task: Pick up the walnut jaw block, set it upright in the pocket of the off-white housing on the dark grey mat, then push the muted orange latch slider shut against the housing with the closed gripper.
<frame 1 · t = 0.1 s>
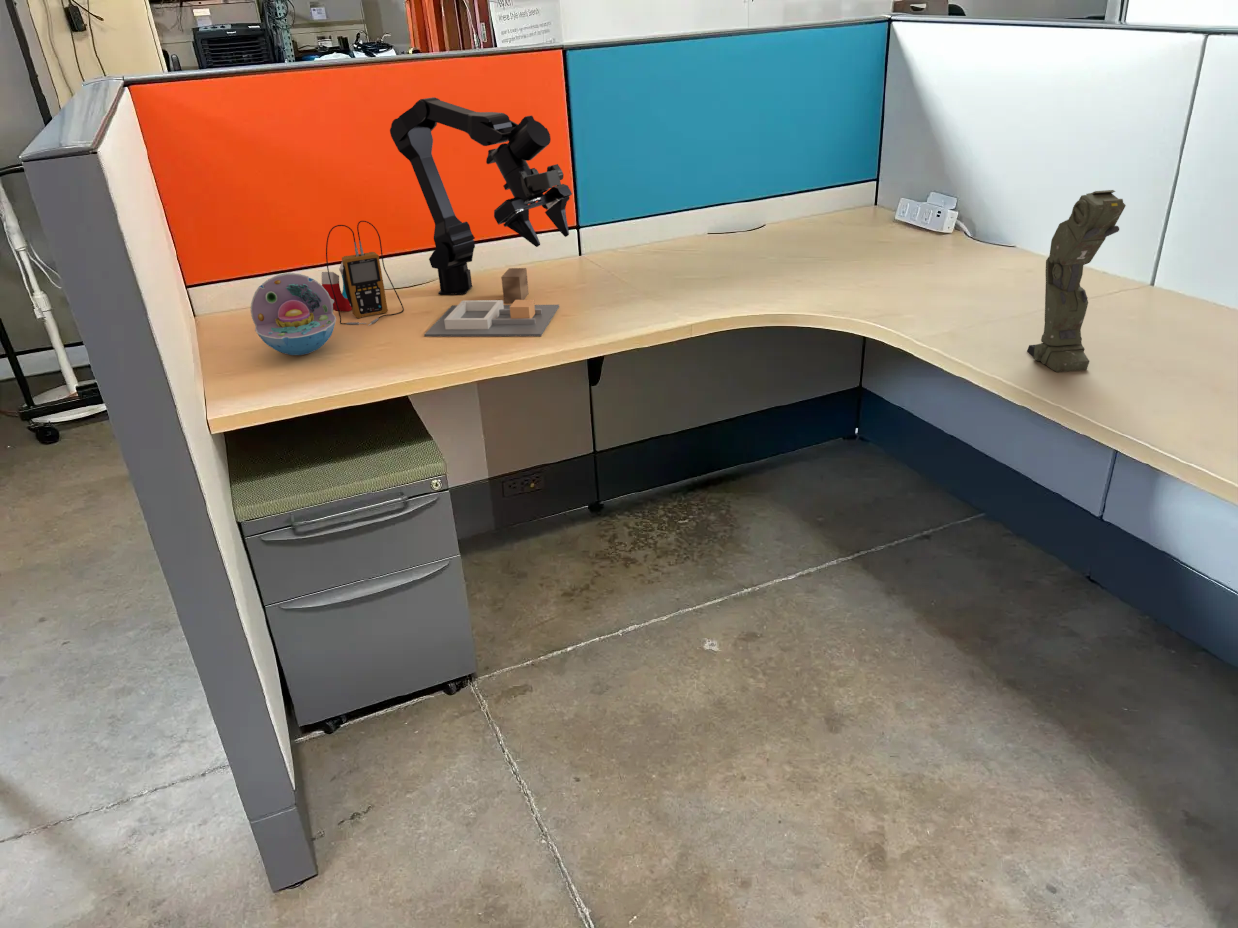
hand: (553, 240, 184), 15 cm above the table, tool tilted 30°, fingers open, 9 cm apart
educational model: (303, 352, 175), on the table
mechanical leg: (1058, 363, 152), on the table
multimeter: (375, 319, 192), on the table
housing: (475, 321, 187), on the table
latch slider: (522, 310, 184), point 2 cm above the table, slide at 3.5 cm
jaw block: (516, 298, 200), on the table
magnet: (346, 311, 198), on the table
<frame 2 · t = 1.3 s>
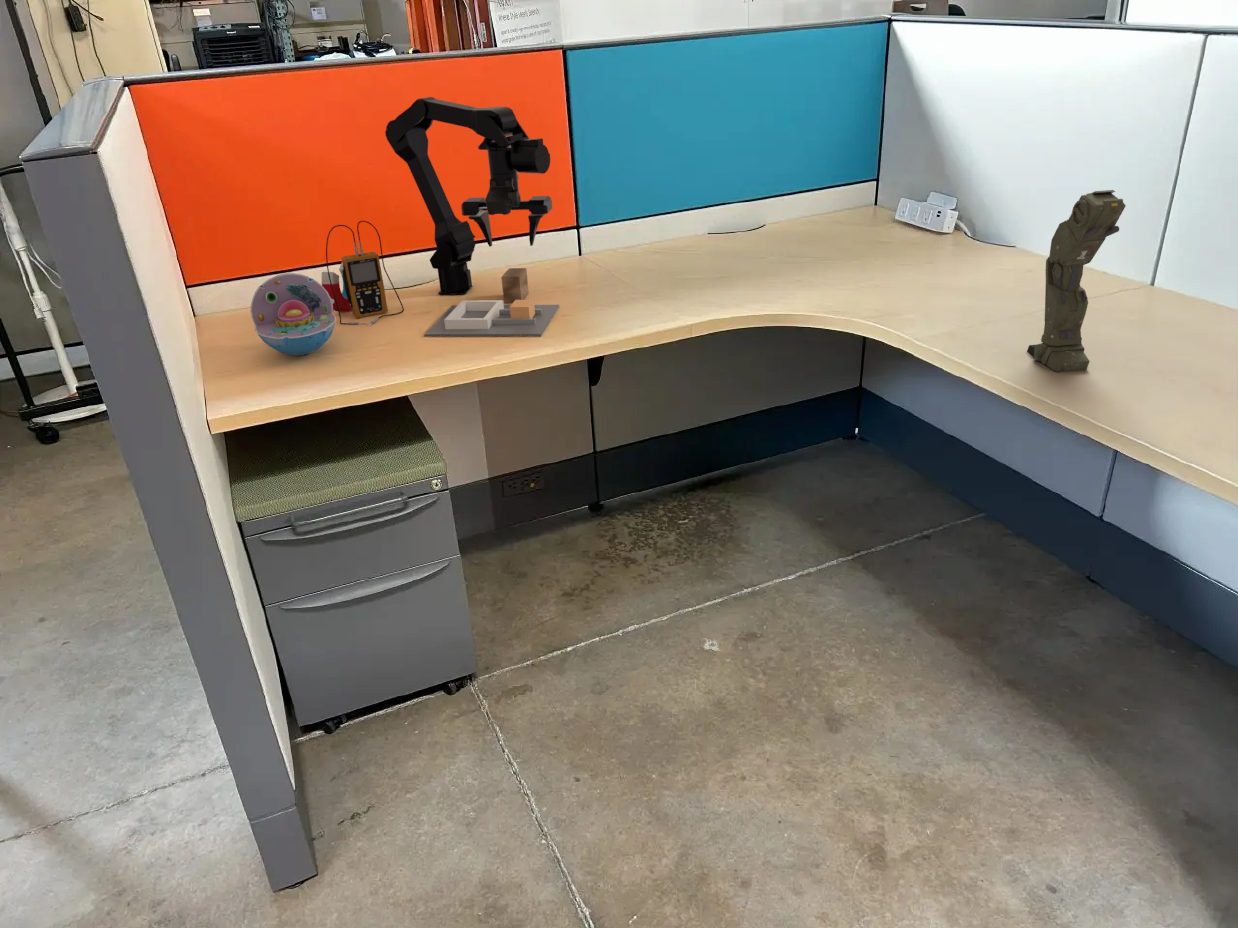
hand: (511, 246, 195), 12 cm above the table, tool pointing down, fingers open, 9 cm apart
nothing on the table moved.
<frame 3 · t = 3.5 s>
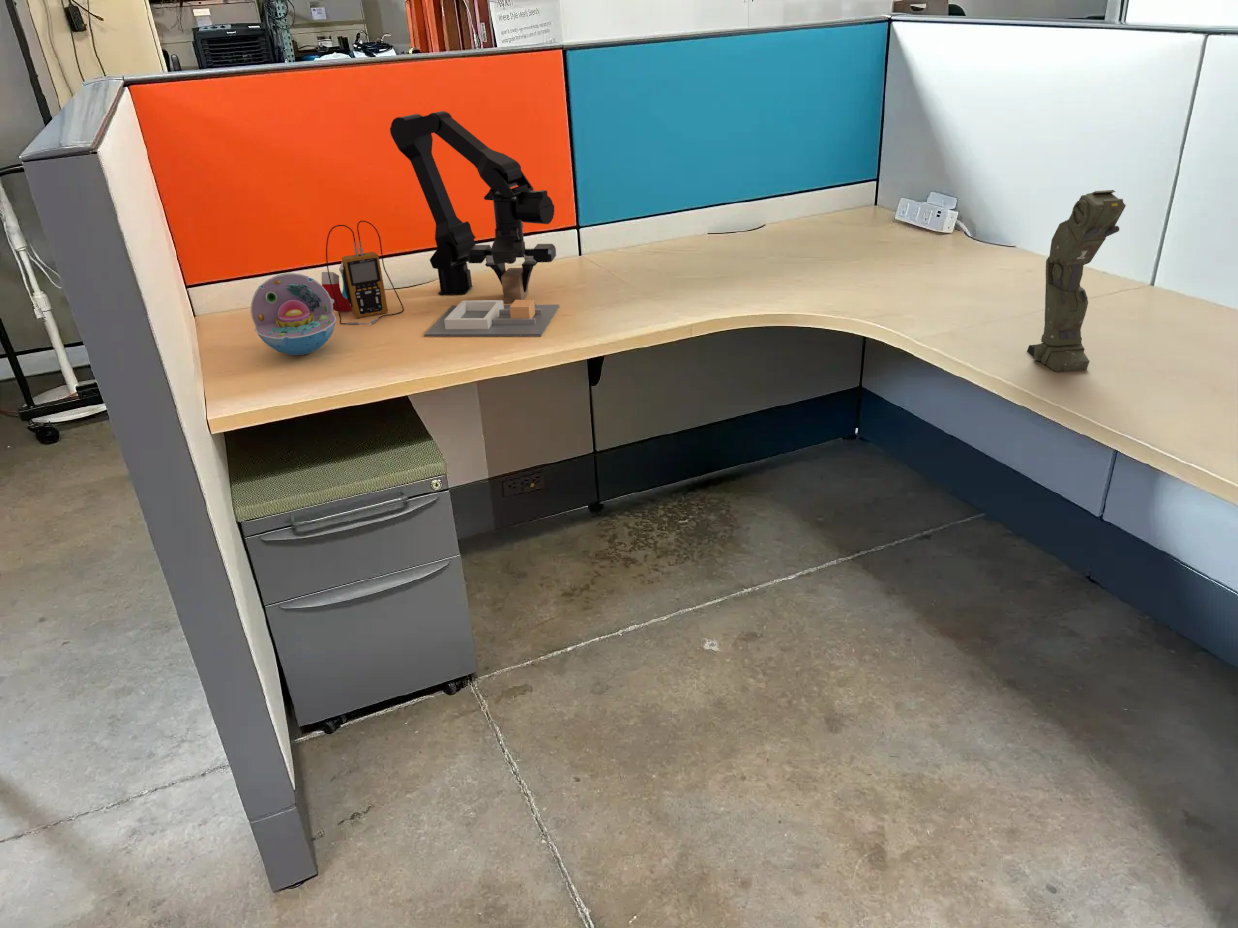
hand: (515, 291, 200), 2 cm above the table, tool pointing down, fingers closed on jaw block, 4 cm apart
jaw block: (516, 298, 200), on the table, touching gripper
everything else where it was.
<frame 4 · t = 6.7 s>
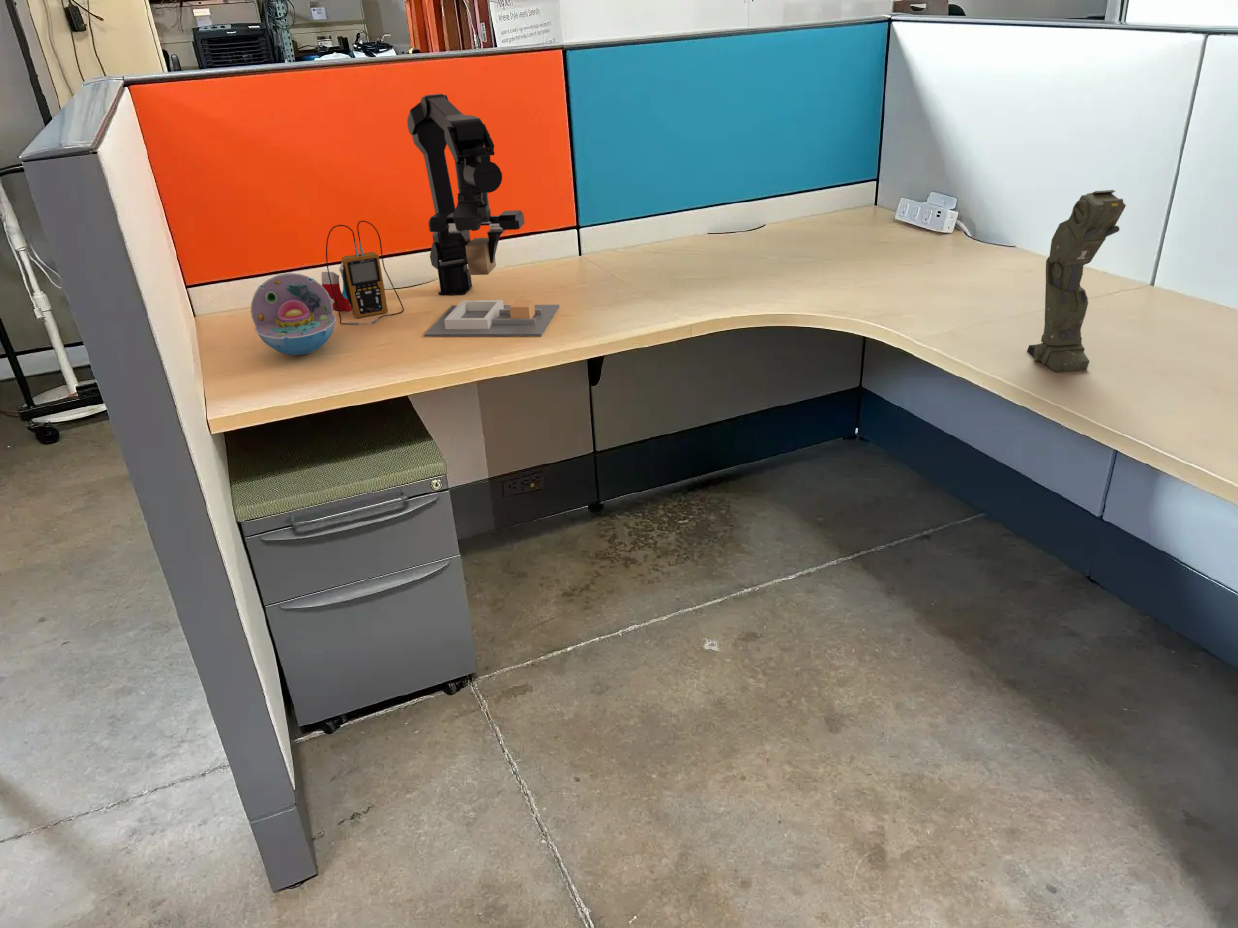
hand: (481, 263, 185), 11 cm above the table, tool pointing down, fingers closed on jaw block, 4 cm apart
jaw block: (482, 270, 186), point 10 cm above the table, touching gripper
everything else where it was.
when the fingers open (3 cm above the table, at t = 9.8 s): jaw block stays where it is, resting on housing.
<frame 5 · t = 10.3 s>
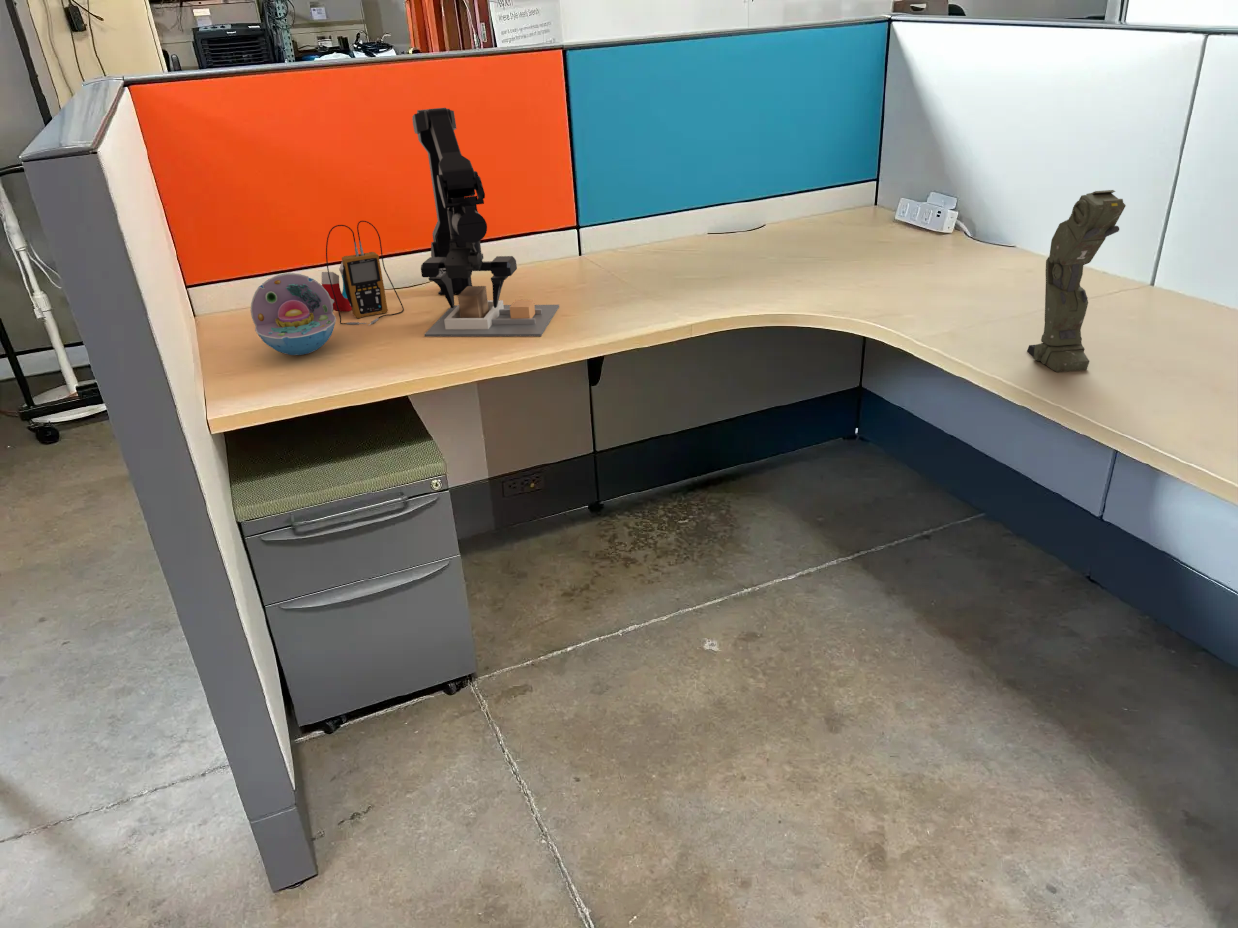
hand: (474, 307, 186), 3 cm above the table, tool pointing down, fingers open, 9 cm apart
jaw block: (475, 318, 187), resting on housing
everything else where it was.
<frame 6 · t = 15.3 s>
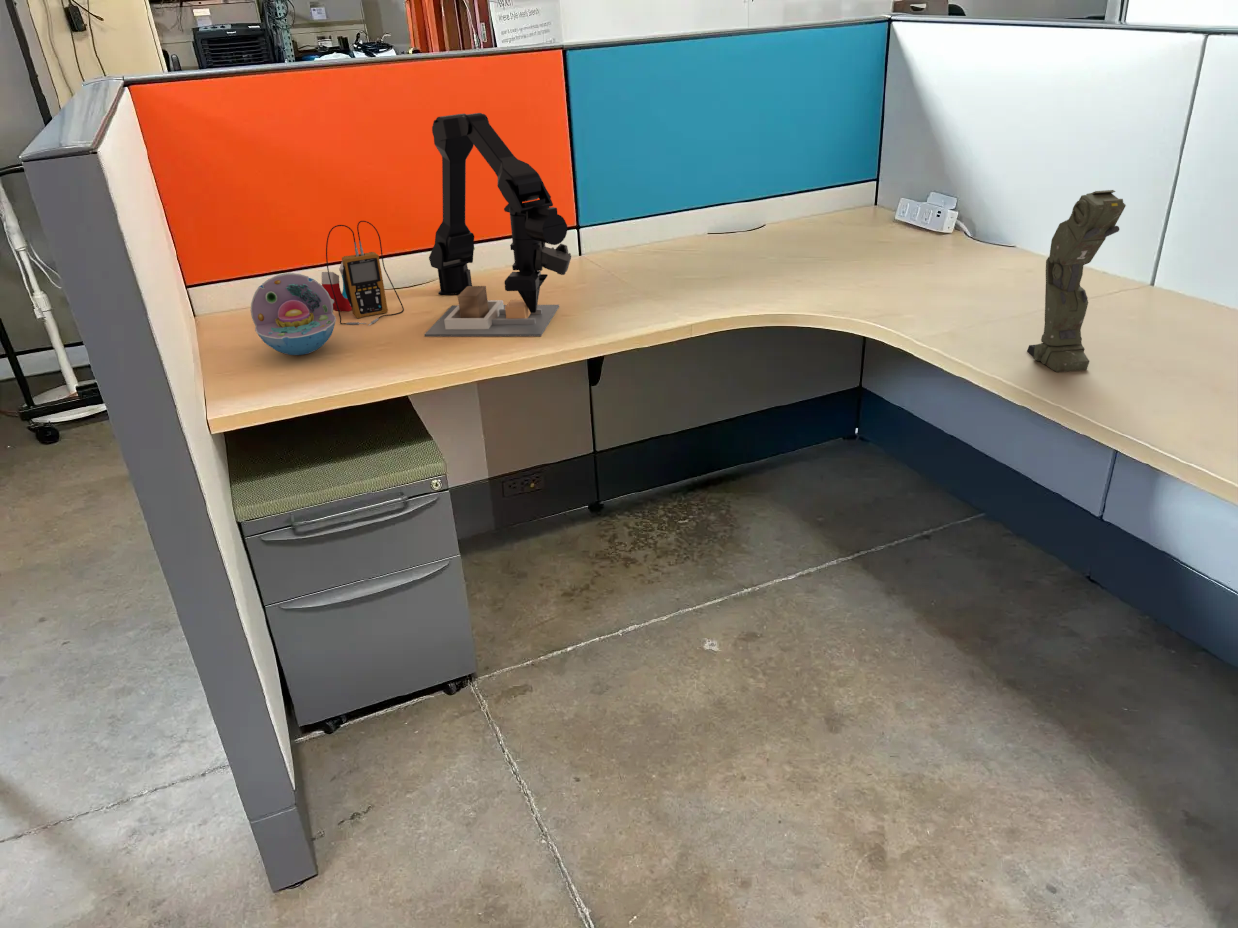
hand: (533, 312, 184), 2 cm above the table, tool pointing down, fingers closed, pressing on latch slider
latch slider: (518, 310, 185), point 2 cm above the table, slide at 2.5 cm, touching gripper
everything else where it was.
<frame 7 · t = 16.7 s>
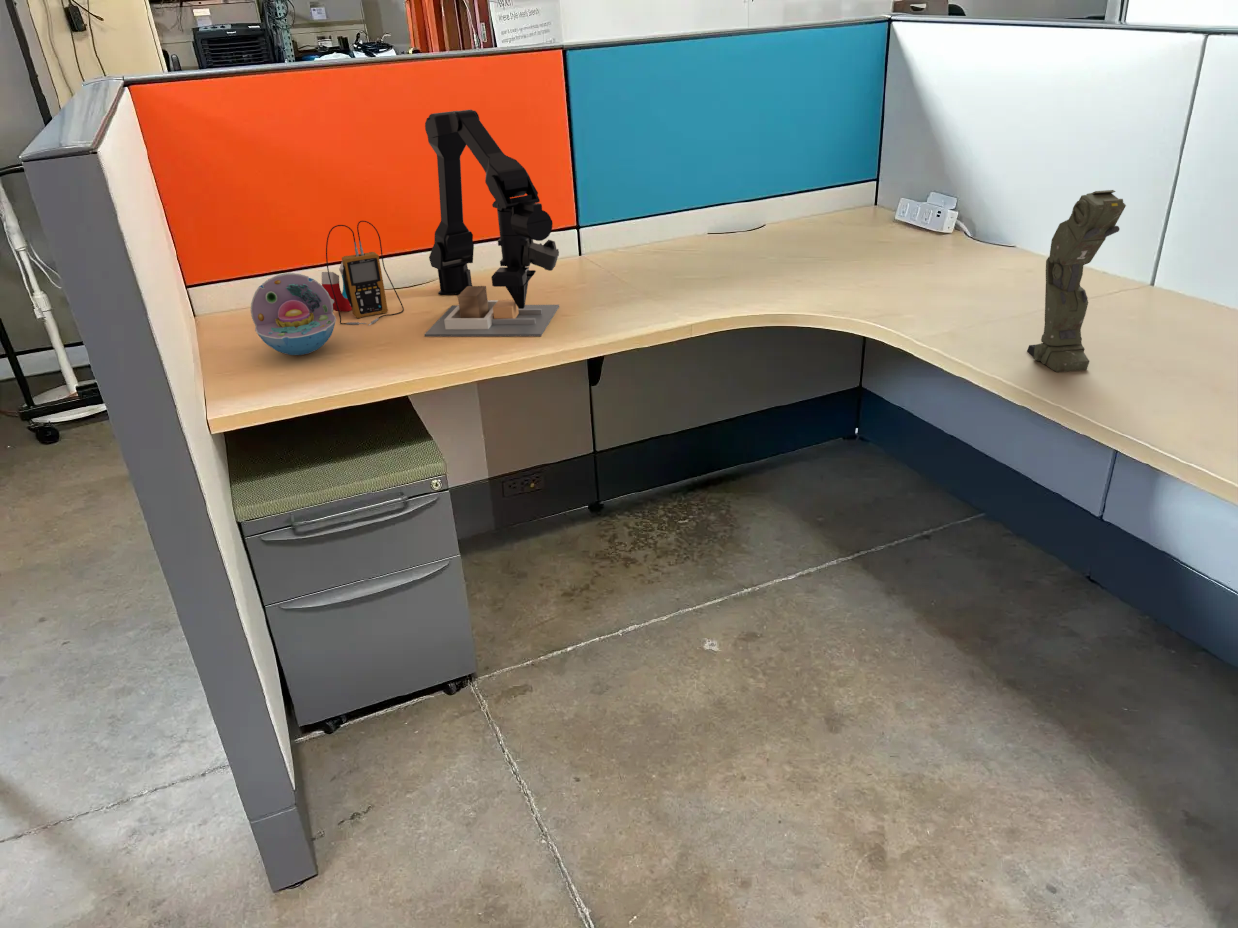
hand: (521, 308, 185), 3 cm above the table, tool pointing down, fingers closed
latch slider: (505, 310, 185), point 2 cm above the table, slide at -0.1 cm
everything else where it was.
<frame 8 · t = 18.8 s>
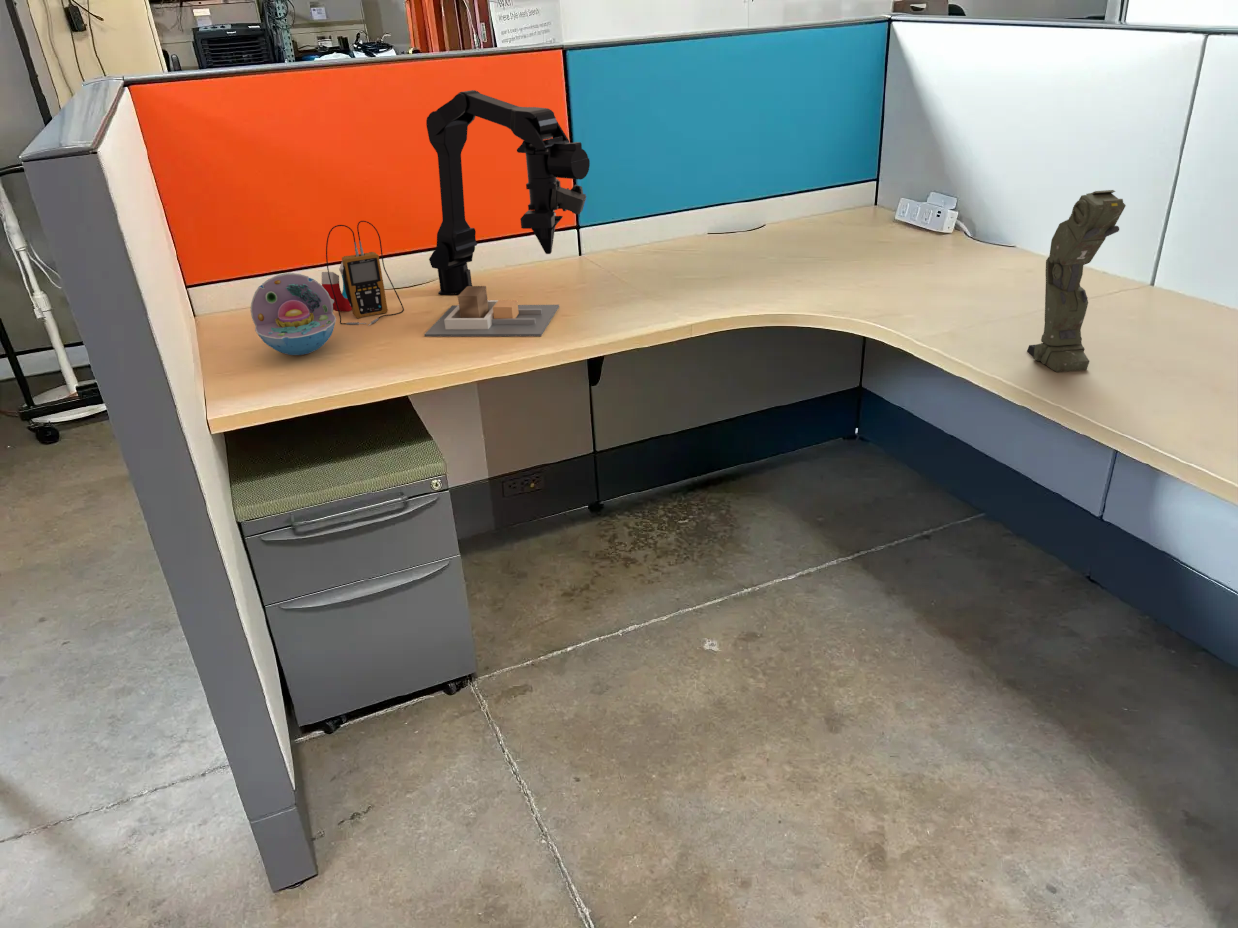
hand: (548, 253, 186), 12 cm above the table, tool pointing down, fingers closed
nothing on the table moved.
at the end: jaw block 0.0 cm off-centre on the housing, point 0.5 cm above the housing's base; jaw block tilted 0°; latch slider slide at -0.1 cm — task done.
